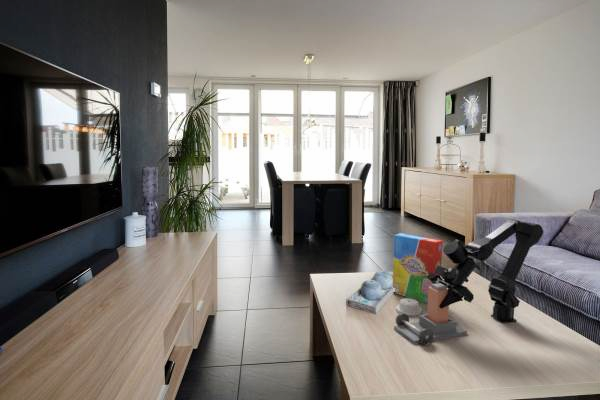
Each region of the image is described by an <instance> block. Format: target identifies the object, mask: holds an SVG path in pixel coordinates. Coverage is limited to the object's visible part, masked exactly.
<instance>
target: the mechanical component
mask: <svg viewBox="0 0 600 400" xmlns="http://www.w3.org/2000/svg"><path fill="white" fill-rule="evenodd" d="M398 302H399V304H397V305H396V307H395V311H396V313H398V314H400V313H405V314H406V315H408V317H409V316H410V317H417V316H419V315H422V311H423V309H422V308H421V307H420V305H419V302H420V301H418V300H415V299H412V298H408V297H405V298H401V299H399V301H398Z"/></svg>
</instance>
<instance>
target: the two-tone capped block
mask: <svg viewBox="0 0 600 400" xmlns="http://www.w3.org/2000/svg"><path fill="white" fill-rule="evenodd" d="M447 294H448V288H446V286H445V285H443V284H441V283H437V284H431V287H428V304H427V314H428V315H427V319H429V320H431V321H432V322H434V323H435V324H438V323H443V322H448V317H449V308H450V307H449V306H450V305H448V306H446V307H444V308H442V309H441V308H440V307H439V306H440V304H441V302H442V301H443V299H444V298H445V297H446V295H447Z"/></svg>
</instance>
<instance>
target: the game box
mask: <svg viewBox="0 0 600 400" xmlns="http://www.w3.org/2000/svg"><path fill="white" fill-rule="evenodd" d="M393 239H394V240H393V266H392V288H393V287H394V288H395V293H394V294H395V295H400V296H403V297H405V298H409V299H410V298H411V299H413V300H416V301H418V302H422V303H424V304H427V305H428V287H431V284H433V283H432V282H431V281H430V280H429V279H428V278H427V276H428V275H429V274H430V273H434V272H435V269H436V267H437V265H439V266H441V267H442V258H443V256H442V255H443V242H444V240H441V239H435V238H430V237H429V238H428V237H425V236H424V237H421V236H418V235H413V234H412V235H411V234H407V233H403V232H400V233H397V234H394V236H393ZM437 275H439V274H437ZM439 276H440V275H439ZM440 277H441V276H440ZM441 278H442V277H441Z"/></svg>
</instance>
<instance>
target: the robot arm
mask: <svg viewBox="0 0 600 400" xmlns="http://www.w3.org/2000/svg"><path fill="white" fill-rule="evenodd" d="M543 235H544V230H543V227H542V226H541V225H540V224H538V223H533V222H528V221H520V220H518V219H512V218H511V219H510V218H509V219H507V220H506V221H505V223H503V224H502V225H500V226H499V227H498V228H496V229H494V230H493V231H491V232H490V233H489V234H488V235H486V236H484V237H482V238H478V239H475V240H473V241H471V242H469V243H467V245H463V243H462V241H460V240H458V239H455V240H454V241H451V242H449V243H447V244H445V246H444V247H443V248H442V253H444V255H446V257H447V258H448V259H449V260H450V261H451V262H452V263H453V264H454V266H450V267H448V268H445V266H444V267H443V266H442V265H441V266H439V265H437V267H436V269H435V272H434V273H430V274H429V275H428V276H427V278H428V279H429V280H430V281H431V282H432V283H433V284H437V283H441V284H443V285H445V286H446V289H448V294H447V295H446V297H445V298H444V299H443V301H442V302H441V304H440V306H439V307H440V308H441V309H442V308H444V307H446V306H448V305H449V306H450V305H453V304H455V303H458V302H463V301H466V302H468V303H472V301H473V300H474V296H475V295H474V294H473V293H472V291H471V290H470V289H469V288H468V287H467V286H464V285H463V284H464V283H468V282H469V281H470V280H469V279H468V278H469V277H470V275H471V274H472V273H473V271H475V270H476V271H481V266H480V262H478V261H482V262H484V261H487V260H488V258H490V256H492V255H493V253H494V249H495V248H496V247H498V246H499V245H501V244H502V243H503V242H505V241H506V240H507V239H509V238H510V237H512V236H515V241H516V242H515V244H514V246H513V248H512V251H511V253H510V255H509V257H508V259H507V261H506V263H505V266H504V268H503V270H502V272H501V274H500V275H499V276H498V277H495V276H494V277H492V279H491V281H490V283H489V285H488V291H487V292H488V294H489V297H490V300H491V301H493V302H494V305H493V306H492V314H490V317H492V318H494V319H495V320H497V321H498V322H500V323H513V322H517V319H516V318H515V317H514V315H515V309H516V308H517V307H519V305H520V302H521V301H520V300H519V299H518V297H517V296H516V295H515V294H516V290H517V288H516V282H515V281H516V280H517V277H518V274H519V273H520V271H521V268H522V266H523V264H524V262H525V259H526V258H527V256H528V253H529V252H530V249H531V248H532V247H533V246H534V245H536V244H538V243H539V241H540V240H541V238H542V237H543ZM476 260H478V261H476ZM437 274H439V275H440V276H441V277H440V276H439V275H437Z"/></svg>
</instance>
